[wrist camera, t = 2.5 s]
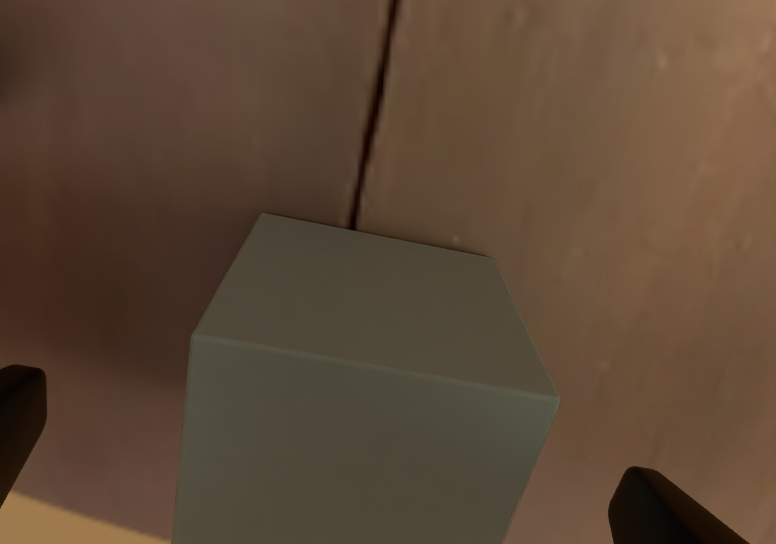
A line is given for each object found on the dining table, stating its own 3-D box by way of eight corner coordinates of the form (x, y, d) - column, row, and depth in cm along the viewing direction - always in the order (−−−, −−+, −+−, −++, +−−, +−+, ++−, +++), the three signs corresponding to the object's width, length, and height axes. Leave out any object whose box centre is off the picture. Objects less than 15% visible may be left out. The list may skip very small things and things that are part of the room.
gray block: (233, 407, 13) (165, 600, 8) (260, 211, 11) (189, 334, 7) (437, 440, 13) (465, 639, 9) (495, 257, 11) (563, 400, 7)
